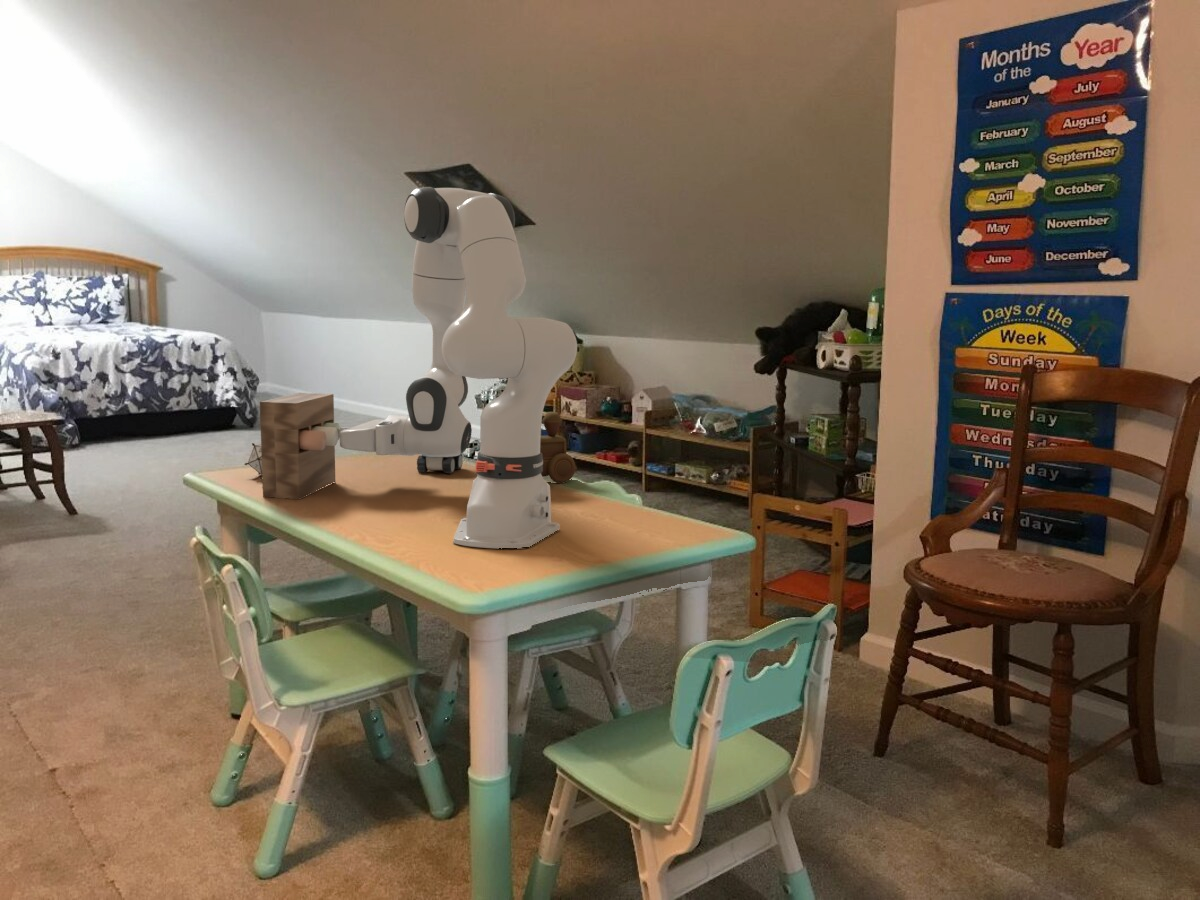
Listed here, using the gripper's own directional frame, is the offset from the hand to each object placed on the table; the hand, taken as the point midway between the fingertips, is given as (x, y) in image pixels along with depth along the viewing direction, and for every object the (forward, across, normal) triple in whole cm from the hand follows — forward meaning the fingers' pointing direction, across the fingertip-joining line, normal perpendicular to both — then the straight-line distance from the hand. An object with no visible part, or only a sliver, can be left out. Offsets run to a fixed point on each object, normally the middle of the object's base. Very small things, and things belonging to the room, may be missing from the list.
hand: (337, 431), depth 215 cm
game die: (+20, -6, +12) cm, 24 cm away
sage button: (+3, 0, +2) cm, 4 cm away
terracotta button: (+1, +12, +2) cm, 12 cm away
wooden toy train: (-40, -16, +12) cm, 45 cm away
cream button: (+1, +6, +2) cm, 6 cm away
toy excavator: (-16, -26, +12) cm, 33 cm away
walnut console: (+6, +6, +12) cm, 15 cm away
